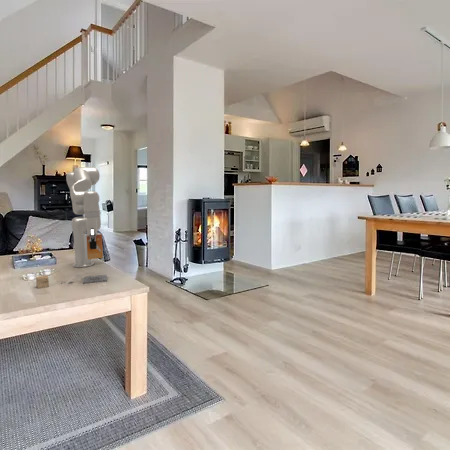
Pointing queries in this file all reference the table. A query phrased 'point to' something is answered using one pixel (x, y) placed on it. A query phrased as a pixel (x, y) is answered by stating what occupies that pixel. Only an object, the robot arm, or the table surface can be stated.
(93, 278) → the felt mat
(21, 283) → the table surface
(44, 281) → the oak block
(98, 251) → the small box
